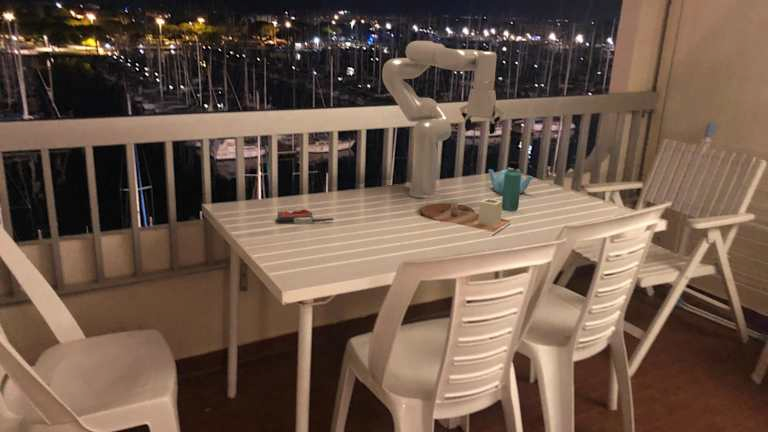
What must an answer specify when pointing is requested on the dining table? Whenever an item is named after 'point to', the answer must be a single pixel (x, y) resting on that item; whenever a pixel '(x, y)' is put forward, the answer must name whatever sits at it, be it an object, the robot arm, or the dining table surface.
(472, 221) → the board
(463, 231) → the dining table surface
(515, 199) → the beverage bottle
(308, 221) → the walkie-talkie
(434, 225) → the dining table surface
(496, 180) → the teapot
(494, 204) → the beige upright block
